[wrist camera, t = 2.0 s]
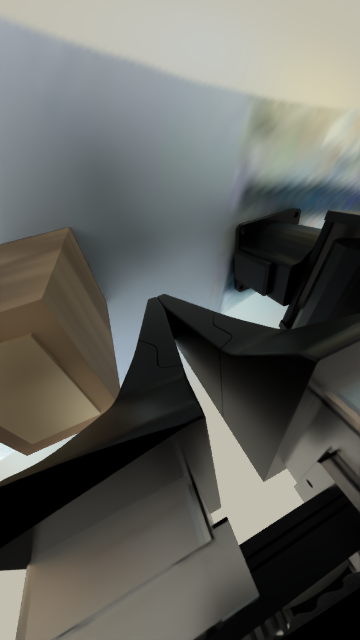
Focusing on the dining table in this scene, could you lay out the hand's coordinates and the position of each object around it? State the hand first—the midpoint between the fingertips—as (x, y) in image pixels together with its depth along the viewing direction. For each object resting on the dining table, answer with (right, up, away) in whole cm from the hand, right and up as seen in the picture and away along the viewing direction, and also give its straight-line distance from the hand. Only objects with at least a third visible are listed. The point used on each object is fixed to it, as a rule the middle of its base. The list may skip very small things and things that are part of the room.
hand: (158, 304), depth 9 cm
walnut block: (-7, +2, +5) cm, 9 cm away
